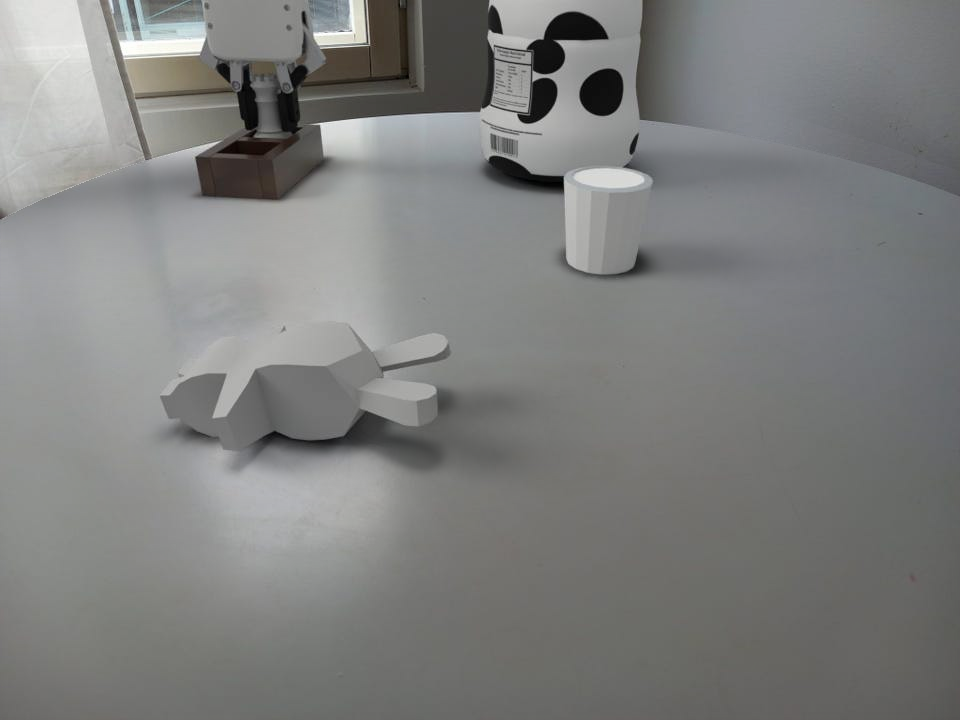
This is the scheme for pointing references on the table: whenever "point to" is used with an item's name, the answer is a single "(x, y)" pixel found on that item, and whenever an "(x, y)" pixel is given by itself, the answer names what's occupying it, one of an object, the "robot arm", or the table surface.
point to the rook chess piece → (268, 106)
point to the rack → (259, 163)
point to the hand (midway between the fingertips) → (271, 126)
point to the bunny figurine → (300, 384)
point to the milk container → (560, 86)
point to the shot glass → (604, 217)
